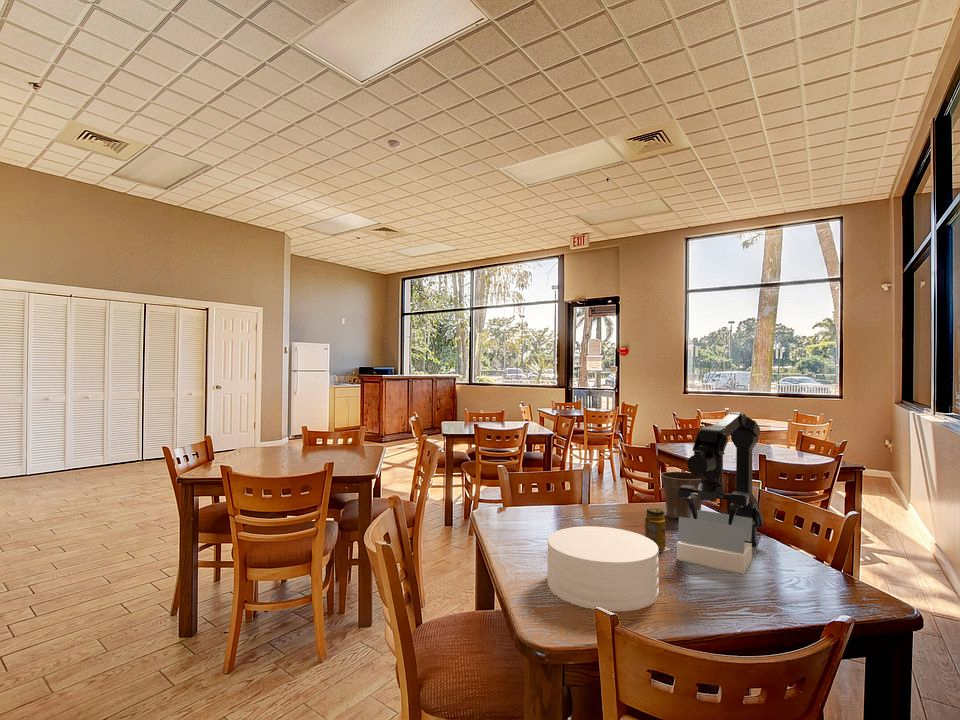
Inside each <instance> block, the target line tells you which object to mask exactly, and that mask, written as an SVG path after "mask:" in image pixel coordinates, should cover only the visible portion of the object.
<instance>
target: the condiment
mask: <svg viewBox="0 0 960 720" xmlns="http://www.w3.org/2000/svg"><path fill="white" fill-rule="evenodd" d="M645 516H646V517H645V519H644V520H645V523H644V525H645V526H644V528H645V529H644V531H645V532H644V536H645V537H647V538H649V539H651V540H652V541H654V542H655V543H656V544H657V546H658V549H659V553H661V552H666V551H669V550H671V549H672V548H670V547H667V546H666V520H665V511H664V510H662V509H660V508H655V507H652V508H647V509H646V515H645Z"/></svg>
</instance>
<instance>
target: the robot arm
mask: <svg viewBox="0 0 960 720" xmlns="http://www.w3.org/2000/svg"><path fill="white" fill-rule="evenodd" d="M760 436H761V427H760V425H758V423H757V422H756V420H754V419H752V418H749V416H747V415H746V414H745V413H743V412H735V411H734V412H733V411H730V412H729V411H728V412H727V413H725V416H724V417H722V419H720V420H719V421H718V422H717V423H715V424H714V425H708V426H704V427H701V428H699V431H698V432H697V434H696V437H695V441H694V443H693V447H692V452H693V455H691V456H690V457H689V458H688V460H687V463H686V464H687V469H688V471H689V473H693V474H694V475H701V481H700V484H699V486H698V488H697V489H695V486H690V485H682V486H680V487H679V488H678V490H677V496H678V497H683V498H682V500H685V501H686V502H687V503H688V505H689V507H690V509H691V512H692V515H693V517H694V519H697V517H698V515H697V496H698V499H699V500H702V501H708V502H712V503H713V502H716V501H717V500H725V501H729V505H728V513H729V514H728V515H729V522H728V524H729V525H732V522H733V519H734V517H735V516H741V517H748V518H753V521H752V535H751V542H749V541H744V542H746V543H751V544H752V547H757V546H758V544H759V543H760V540H759V539H757V529H758V528H763V526H764V525H763V524H764V518H763V515H762V514H761V511H760V509H759V503H758V502H759V501H757V499H756V497H755V496H754V494H753V451H754V450H753V449H754V448H755V447H756V445H757V443H758V442H759V437H760ZM728 437H730V440H731V442H732V443H733V445H734V446H735V448H736V450H735V451H736V452H735V453H736V458H735V459H736V460H735V461H736V463H735V465H736V466H735V468H736V469H735V471H736V472H735V479H736V481H735V490H734V491H732V492H731V493H726V489H725V485H724V455H725V450H726V448H727V444H728V443H729V438H728Z"/></svg>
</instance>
